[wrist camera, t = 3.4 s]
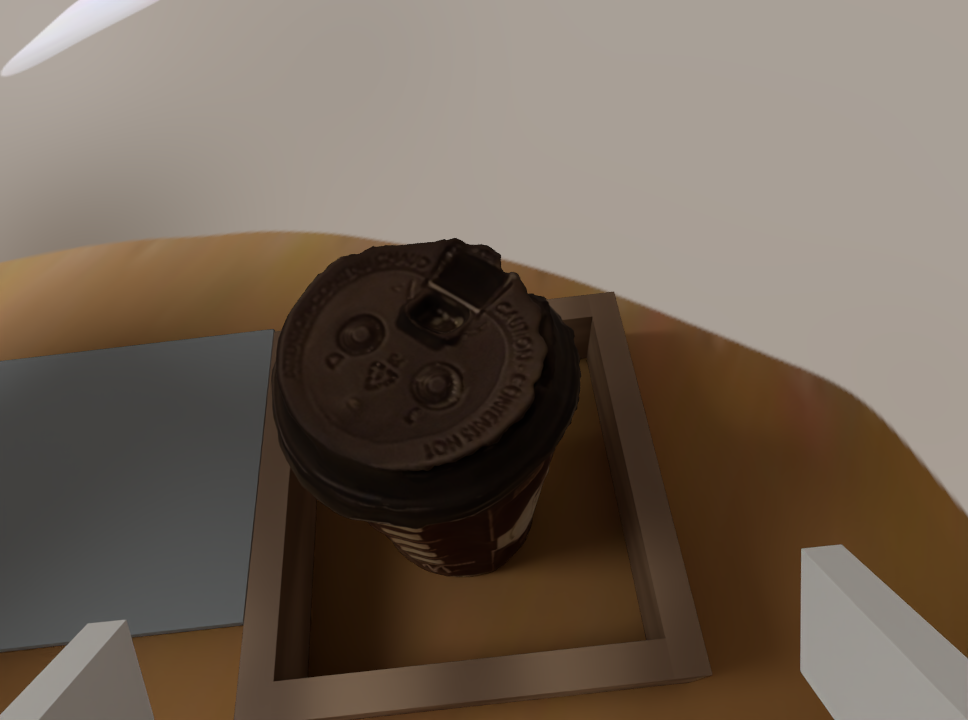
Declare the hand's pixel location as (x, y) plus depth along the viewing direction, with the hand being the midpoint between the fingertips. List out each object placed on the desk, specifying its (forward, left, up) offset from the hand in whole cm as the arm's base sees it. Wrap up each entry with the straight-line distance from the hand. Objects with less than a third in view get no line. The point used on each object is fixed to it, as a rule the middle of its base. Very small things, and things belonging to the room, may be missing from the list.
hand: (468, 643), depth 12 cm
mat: (-18, +10, -13) cm, 24 cm away
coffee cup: (-1, +7, -13) cm, 15 cm away
